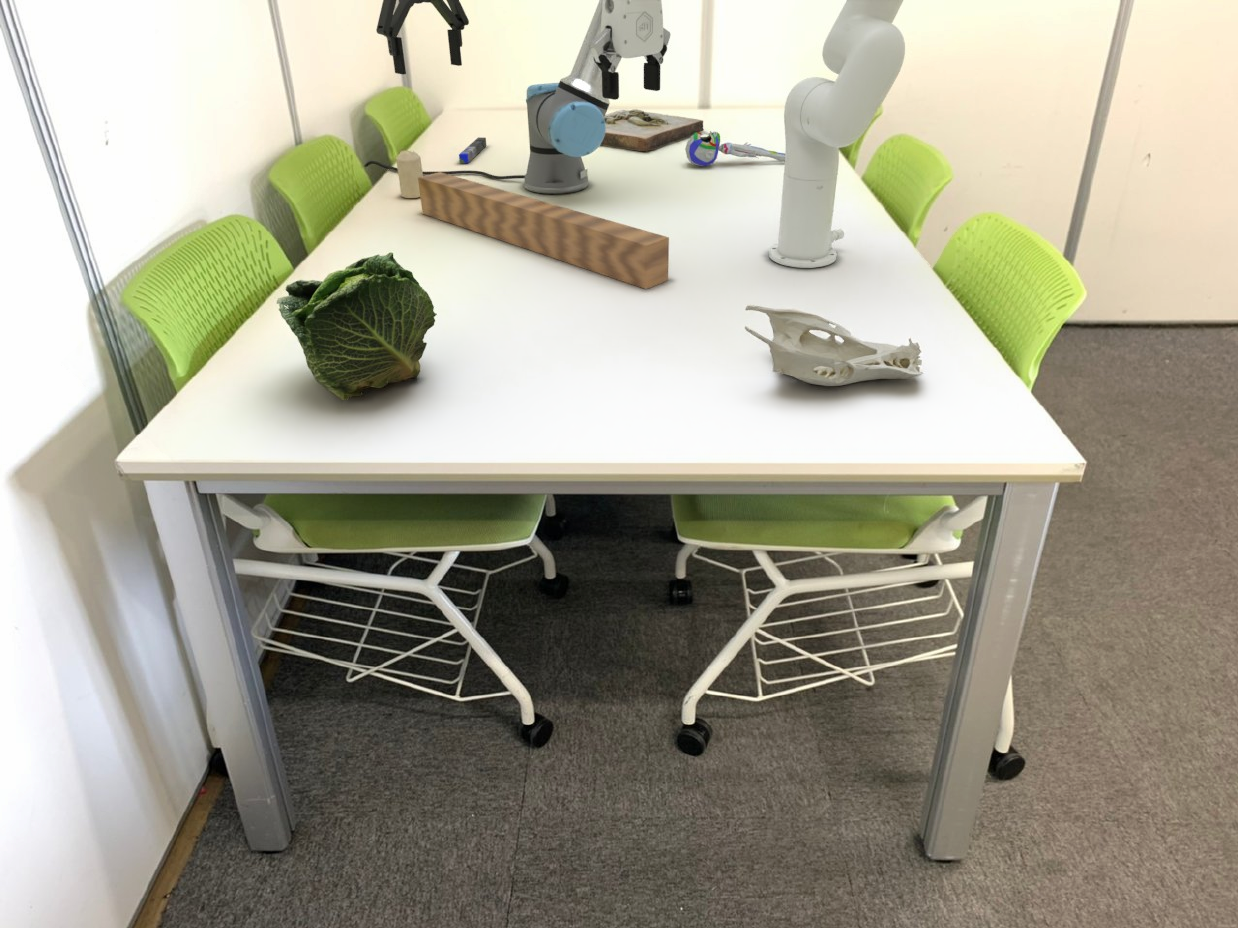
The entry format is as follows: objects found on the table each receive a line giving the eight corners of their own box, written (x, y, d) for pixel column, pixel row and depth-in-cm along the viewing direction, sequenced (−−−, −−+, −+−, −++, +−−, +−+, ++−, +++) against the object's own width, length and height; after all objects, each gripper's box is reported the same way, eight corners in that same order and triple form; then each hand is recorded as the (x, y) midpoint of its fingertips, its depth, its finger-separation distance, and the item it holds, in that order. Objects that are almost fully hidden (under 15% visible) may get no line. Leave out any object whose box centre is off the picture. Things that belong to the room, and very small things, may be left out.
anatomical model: (746, 295, 131) (922, 298, 128) (744, 352, 136) (913, 356, 133) (742, 338, 119) (937, 342, 115) (741, 399, 124) (927, 405, 120)
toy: (809, 146, 225) (693, 132, 220) (801, 180, 229) (687, 167, 224) (798, 137, 233) (686, 124, 229) (791, 170, 238) (681, 158, 233)
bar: (422, 213, 197) (417, 177, 193) (444, 208, 201) (439, 172, 197) (646, 289, 158) (646, 245, 153) (668, 280, 161) (669, 237, 157)
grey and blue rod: (485, 137, 250) (466, 155, 233) (486, 145, 251) (467, 163, 234) (478, 137, 250) (458, 155, 233) (478, 145, 251) (459, 163, 234)
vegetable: (353, 408, 136) (266, 297, 128) (458, 337, 138) (379, 222, 130) (352, 443, 118) (251, 316, 110) (474, 360, 119) (382, 229, 111)
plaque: (647, 125, 237) (559, 112, 252) (647, 153, 241) (560, 139, 256) (706, 107, 258) (622, 97, 273) (705, 133, 262) (622, 121, 277)
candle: (429, 193, 211) (424, 149, 206) (417, 199, 207) (411, 154, 201) (409, 191, 213) (403, 147, 207) (396, 197, 208) (390, 153, 203)
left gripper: (368, -49, 159) (386, 79, 170) (479, -55, 174) (489, 63, 185) (345, -50, 164) (365, 75, 175) (456, -56, 179) (467, 60, 190)
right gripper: (608, -21, 129) (610, 105, 138) (686, -28, 140) (683, 89, 149) (572, -23, 134) (577, 99, 143) (651, -30, 144) (650, 84, 153)
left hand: (429, 69), depth 180 cm, fingers open, 13 cm apart
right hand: (631, 94), depth 146 cm, fingers open, 9 cm apart
